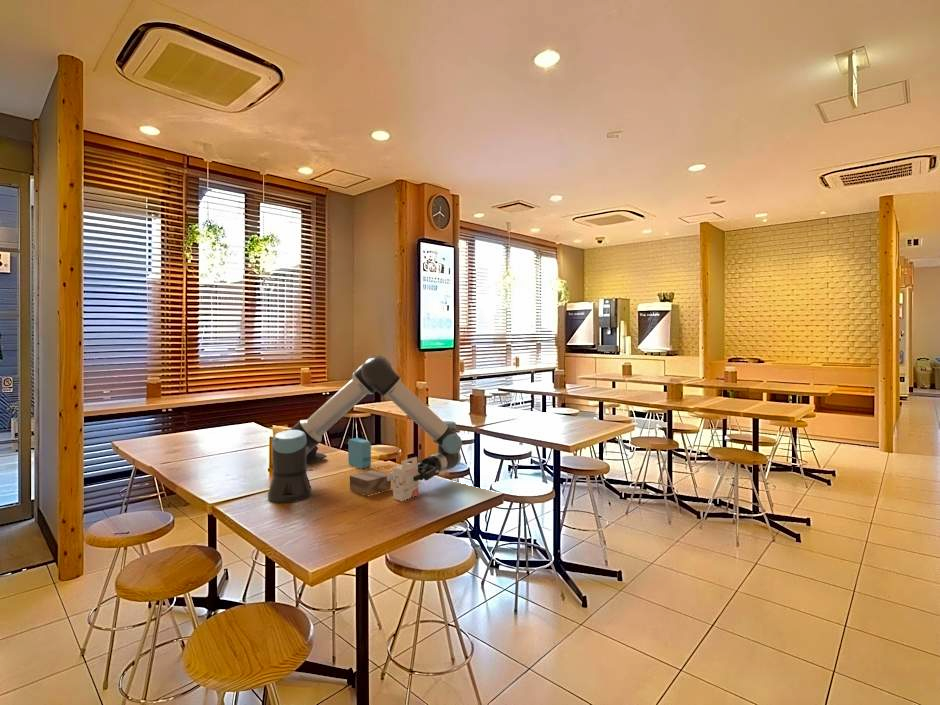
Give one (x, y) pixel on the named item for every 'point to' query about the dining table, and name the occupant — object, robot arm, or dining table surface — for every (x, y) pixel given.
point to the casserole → (314, 455)
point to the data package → (359, 453)
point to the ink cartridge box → (399, 480)
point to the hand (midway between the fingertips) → (397, 478)
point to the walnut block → (369, 482)
